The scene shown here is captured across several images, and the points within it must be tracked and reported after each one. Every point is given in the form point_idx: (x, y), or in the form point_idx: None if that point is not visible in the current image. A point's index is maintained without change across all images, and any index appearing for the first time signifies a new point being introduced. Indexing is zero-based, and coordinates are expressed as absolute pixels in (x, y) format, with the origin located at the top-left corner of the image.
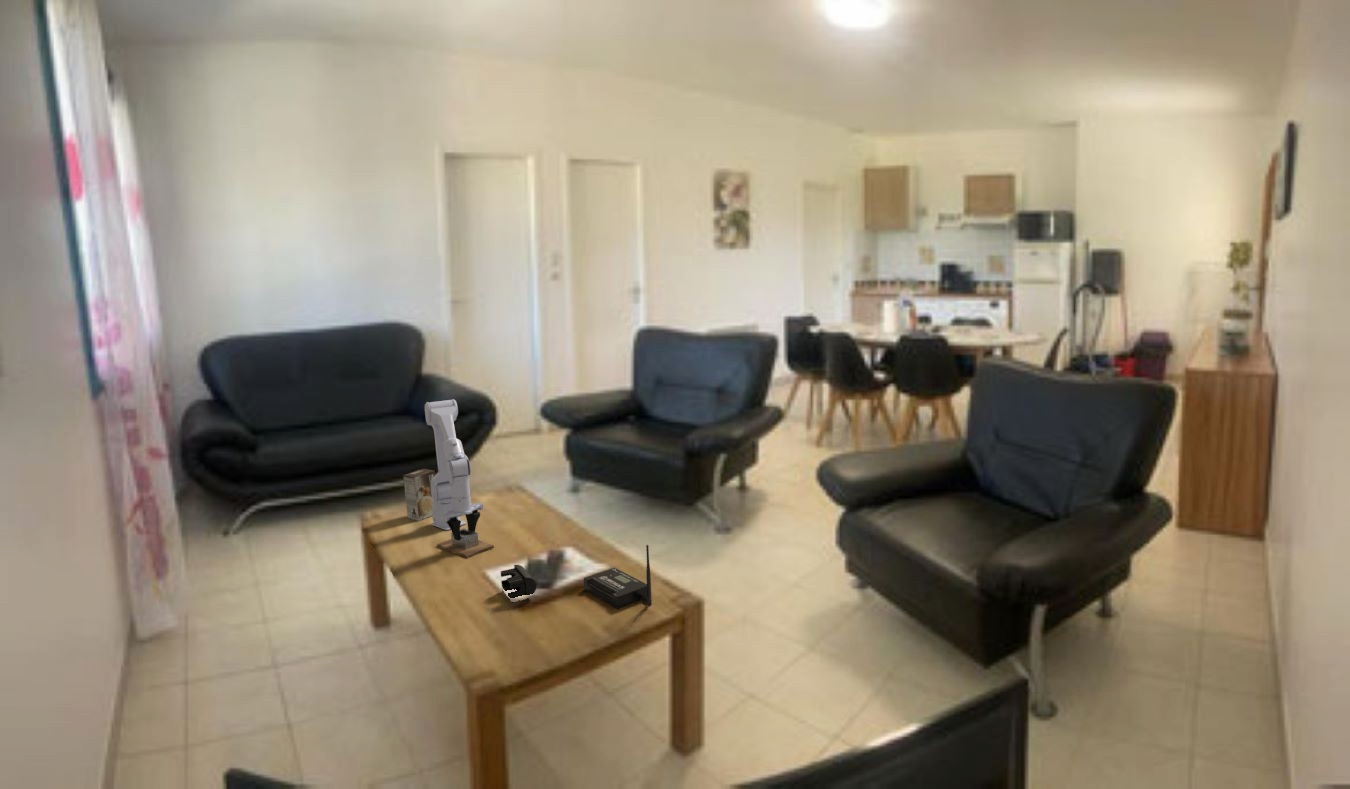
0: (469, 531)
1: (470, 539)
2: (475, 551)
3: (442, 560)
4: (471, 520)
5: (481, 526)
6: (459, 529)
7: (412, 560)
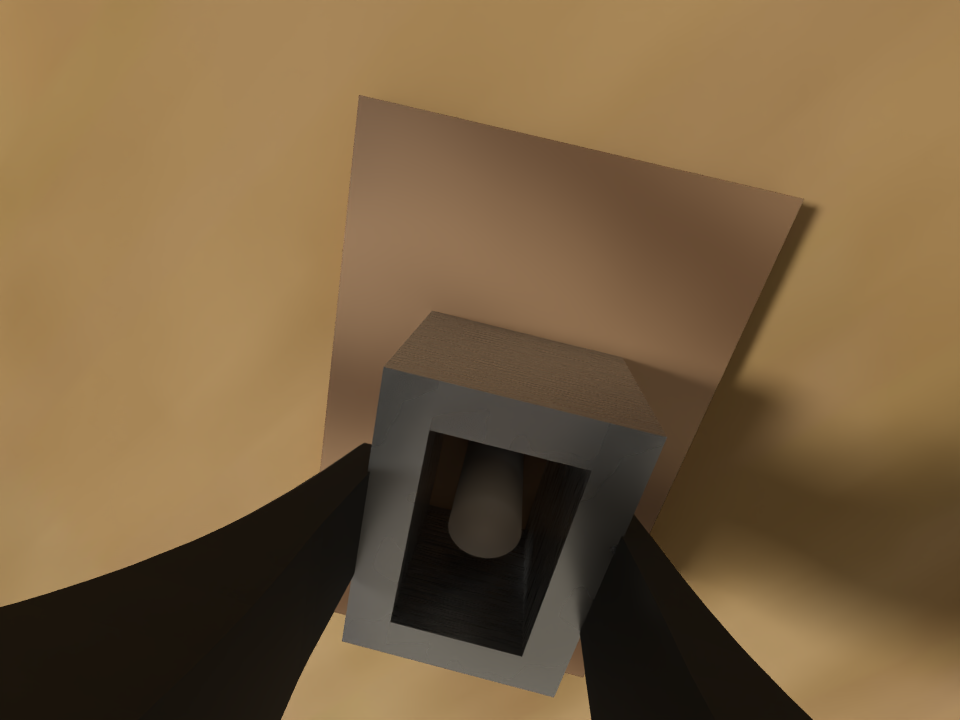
0: (400, 519)
1: (543, 376)
2: (636, 192)
3: (904, 434)
4: (253, 676)
5: (80, 579)
6: (690, 647)
7: (939, 670)
